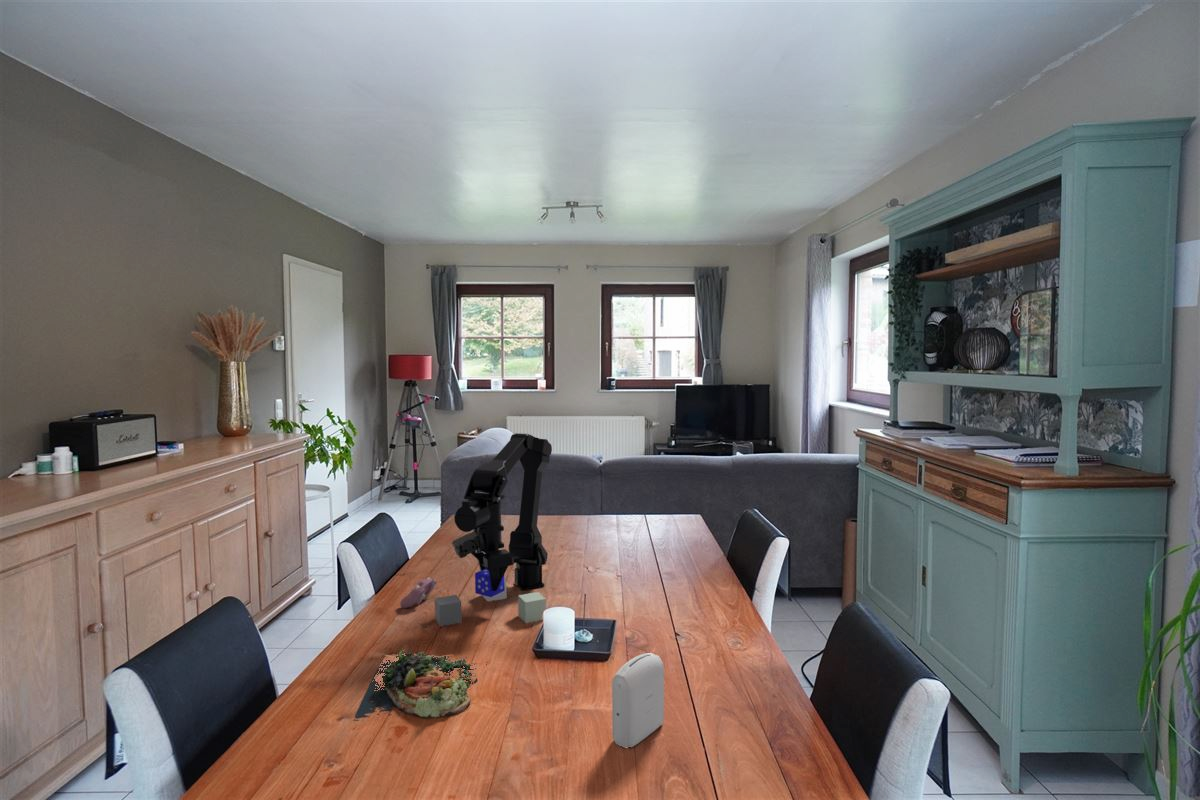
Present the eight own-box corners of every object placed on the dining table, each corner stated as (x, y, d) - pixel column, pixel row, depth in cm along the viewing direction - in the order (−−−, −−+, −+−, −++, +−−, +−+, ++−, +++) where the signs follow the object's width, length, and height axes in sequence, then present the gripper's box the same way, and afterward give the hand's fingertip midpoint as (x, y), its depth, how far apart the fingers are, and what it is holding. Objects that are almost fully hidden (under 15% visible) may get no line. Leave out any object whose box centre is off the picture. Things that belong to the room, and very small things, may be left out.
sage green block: (538, 612, 155) (538, 591, 154) (545, 619, 150) (545, 598, 150) (518, 616, 152) (518, 595, 152) (525, 623, 148) (525, 602, 148)
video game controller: (413, 616, 156) (424, 591, 155) (397, 606, 157) (408, 582, 156) (431, 601, 166) (442, 578, 165) (416, 592, 167) (427, 569, 166)
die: (488, 587, 157) (488, 567, 157) (504, 590, 154) (504, 570, 154) (474, 593, 153) (474, 572, 152) (491, 597, 150) (490, 576, 150)
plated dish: (504, 738, 104) (503, 694, 104) (322, 756, 100) (320, 710, 100) (506, 646, 139) (505, 613, 138) (371, 656, 135) (369, 622, 134)
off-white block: (500, 592, 168) (500, 573, 168) (506, 598, 164) (506, 579, 163) (481, 595, 166) (481, 576, 166) (487, 602, 161) (487, 582, 161)
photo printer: (629, 753, 99) (629, 674, 98) (608, 742, 102) (608, 666, 101) (667, 724, 107) (667, 651, 106) (646, 714, 110) (646, 644, 109)
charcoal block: (456, 615, 153) (456, 594, 153) (461, 623, 148) (461, 601, 148) (435, 619, 151) (434, 598, 150) (439, 627, 146) (439, 605, 146)
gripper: (445, 516, 157) (447, 579, 158) (465, 535, 141) (466, 605, 142) (490, 511, 162) (491, 572, 163) (514, 529, 146) (515, 596, 147)
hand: (489, 585), depth 154 cm, fingers closed on die, 7 cm apart
